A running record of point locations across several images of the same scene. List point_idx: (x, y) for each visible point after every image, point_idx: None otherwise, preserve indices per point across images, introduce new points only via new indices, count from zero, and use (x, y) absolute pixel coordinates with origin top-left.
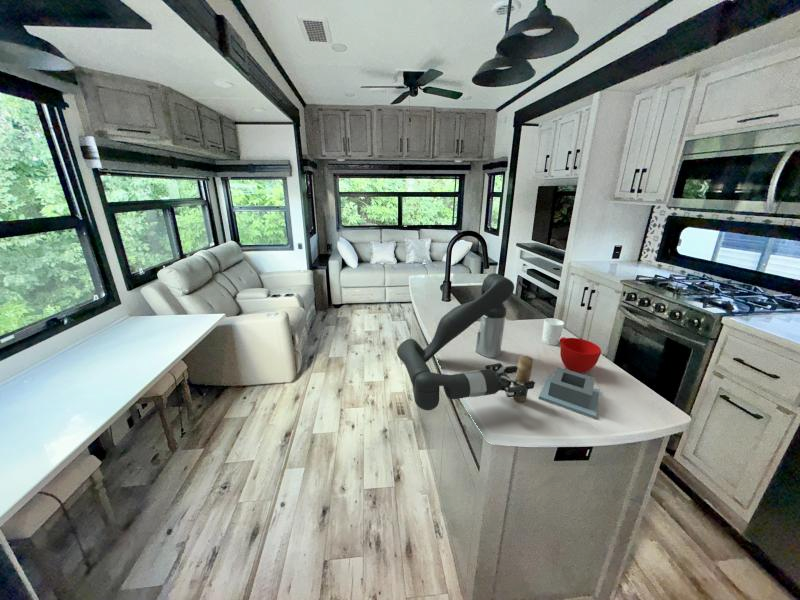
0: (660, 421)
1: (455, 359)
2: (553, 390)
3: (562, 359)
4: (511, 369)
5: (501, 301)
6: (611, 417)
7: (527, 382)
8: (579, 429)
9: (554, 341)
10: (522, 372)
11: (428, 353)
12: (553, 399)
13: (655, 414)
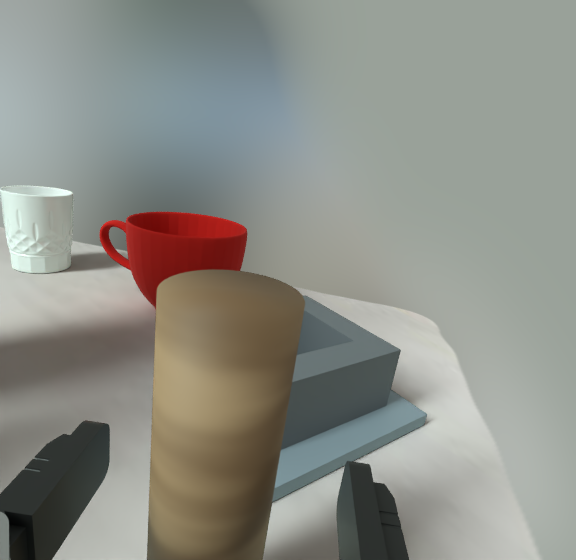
0: (428, 335)
1: None
2: (288, 418)
3: (154, 287)
4: (70, 489)
5: None
6: (414, 388)
7: (376, 527)
8: (498, 518)
9: (61, 256)
10: (253, 454)
11: None
12: (302, 459)
13: (403, 326)
